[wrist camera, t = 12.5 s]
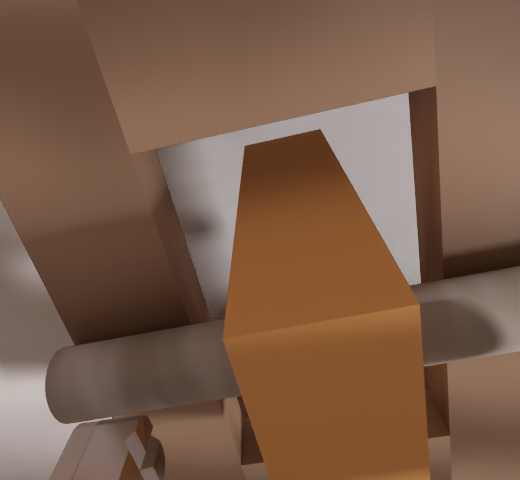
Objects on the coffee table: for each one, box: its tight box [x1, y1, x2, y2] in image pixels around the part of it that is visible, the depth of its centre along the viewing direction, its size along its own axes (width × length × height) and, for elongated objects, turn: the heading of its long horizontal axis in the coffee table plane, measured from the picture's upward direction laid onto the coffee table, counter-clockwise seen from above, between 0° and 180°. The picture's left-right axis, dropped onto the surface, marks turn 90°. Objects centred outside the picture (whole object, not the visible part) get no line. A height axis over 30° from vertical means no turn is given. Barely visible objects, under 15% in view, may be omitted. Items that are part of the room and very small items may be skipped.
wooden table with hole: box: [0, 0, 520, 480], centre depth 16 cm, size 22×14×14 cm, turn 12°
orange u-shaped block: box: [223, 129, 430, 480], centre depth 13 cm, size 7×3×11 cm, turn 13°
